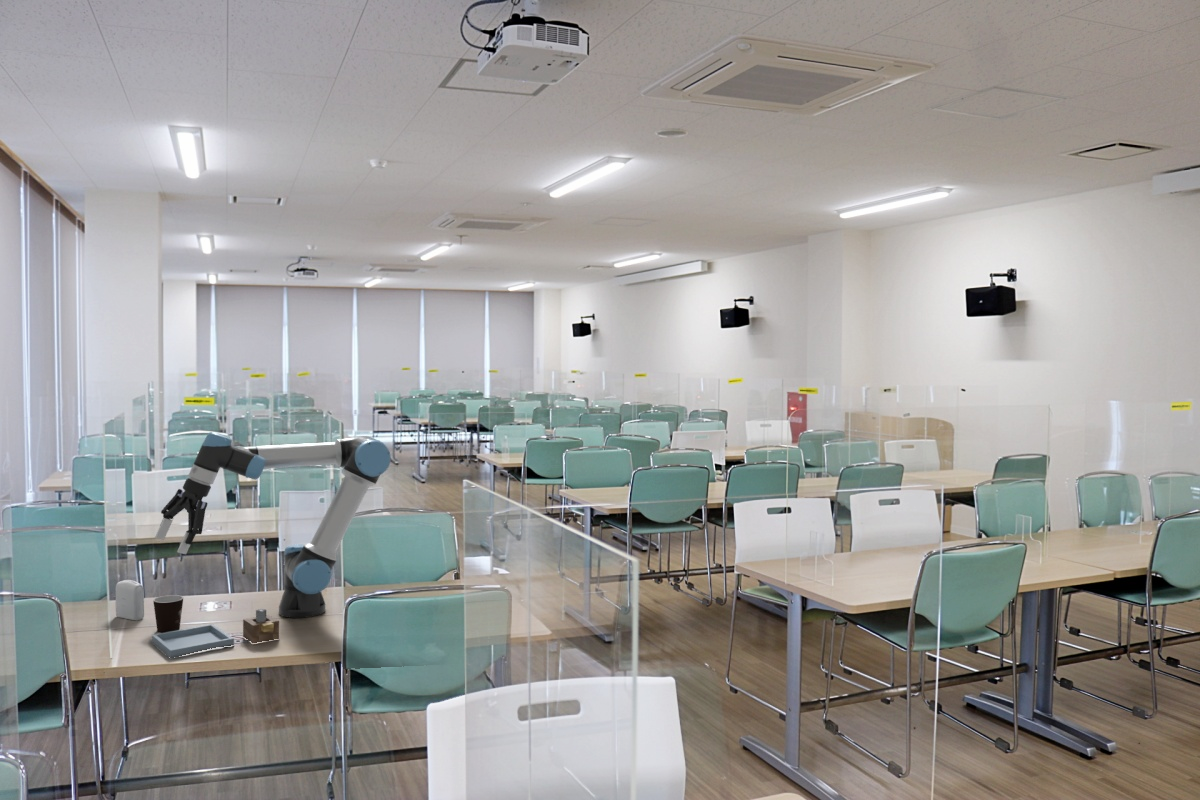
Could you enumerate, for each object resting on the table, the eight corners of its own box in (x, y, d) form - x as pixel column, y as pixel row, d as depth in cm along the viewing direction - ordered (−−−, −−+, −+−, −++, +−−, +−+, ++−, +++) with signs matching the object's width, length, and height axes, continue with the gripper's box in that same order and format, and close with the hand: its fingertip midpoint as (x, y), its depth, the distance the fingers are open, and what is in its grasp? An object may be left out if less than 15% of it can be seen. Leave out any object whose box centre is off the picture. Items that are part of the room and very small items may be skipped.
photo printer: (113, 617, 302) (113, 579, 301) (125, 613, 306) (125, 577, 305) (134, 621, 298) (134, 584, 297) (146, 618, 301) (146, 581, 301)
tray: (212, 631, 289) (212, 623, 289) (233, 646, 276) (233, 638, 276) (151, 643, 277) (151, 634, 277) (170, 659, 264) (170, 650, 264)
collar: (268, 633, 289) (268, 614, 289) (281, 641, 282) (281, 622, 281) (243, 638, 284) (243, 619, 283) (255, 646, 276) (255, 627, 276)
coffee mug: (171, 635, 285) (171, 603, 284) (147, 632, 287) (147, 601, 286) (195, 624, 296) (195, 593, 296) (171, 622, 298) (171, 591, 298)
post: (263, 637, 286) (264, 608, 285) (267, 639, 283) (267, 610, 283) (254, 638, 284) (254, 610, 283) (258, 641, 281) (258, 612, 281)
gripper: (168, 467, 288) (139, 530, 285) (210, 489, 273) (180, 557, 270) (189, 473, 294) (161, 535, 291) (231, 495, 279) (201, 561, 276)
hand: (170, 546), depth 281 cm, fingers open, 13 cm apart
